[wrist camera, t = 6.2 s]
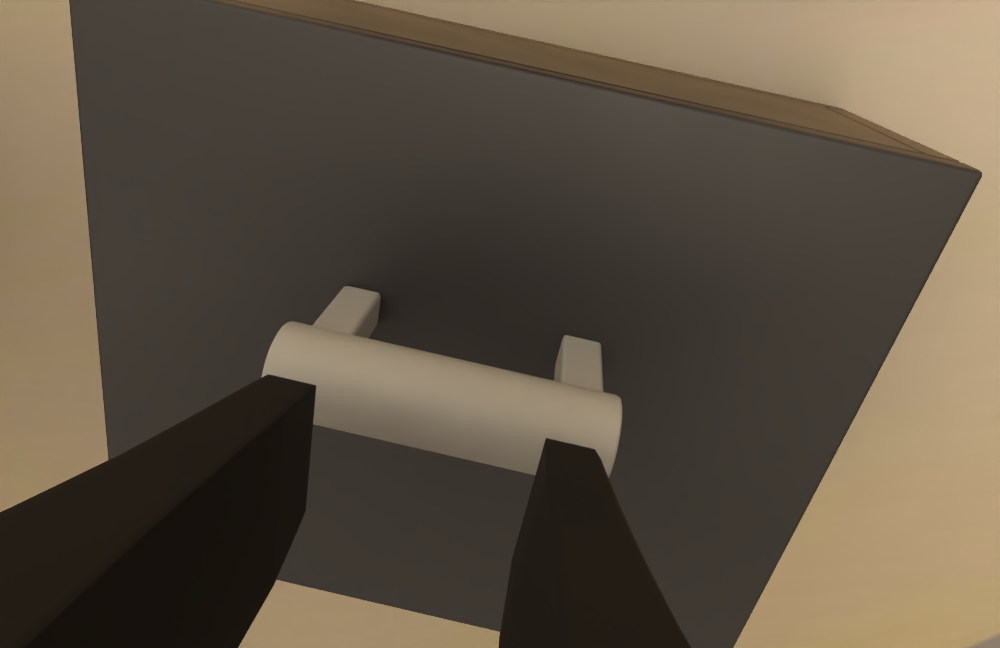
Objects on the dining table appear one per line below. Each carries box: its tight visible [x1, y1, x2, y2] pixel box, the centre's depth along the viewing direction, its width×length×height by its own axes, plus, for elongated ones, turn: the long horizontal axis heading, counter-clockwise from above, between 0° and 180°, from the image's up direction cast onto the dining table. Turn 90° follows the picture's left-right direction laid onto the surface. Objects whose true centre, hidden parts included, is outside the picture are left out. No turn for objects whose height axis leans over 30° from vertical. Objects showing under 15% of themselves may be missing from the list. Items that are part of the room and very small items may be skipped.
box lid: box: [69, 0, 982, 648], centre depth 12 cm, size 12×14×4 cm
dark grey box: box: [231, 0, 959, 162], centre depth 16 cm, size 11×14×6 cm
